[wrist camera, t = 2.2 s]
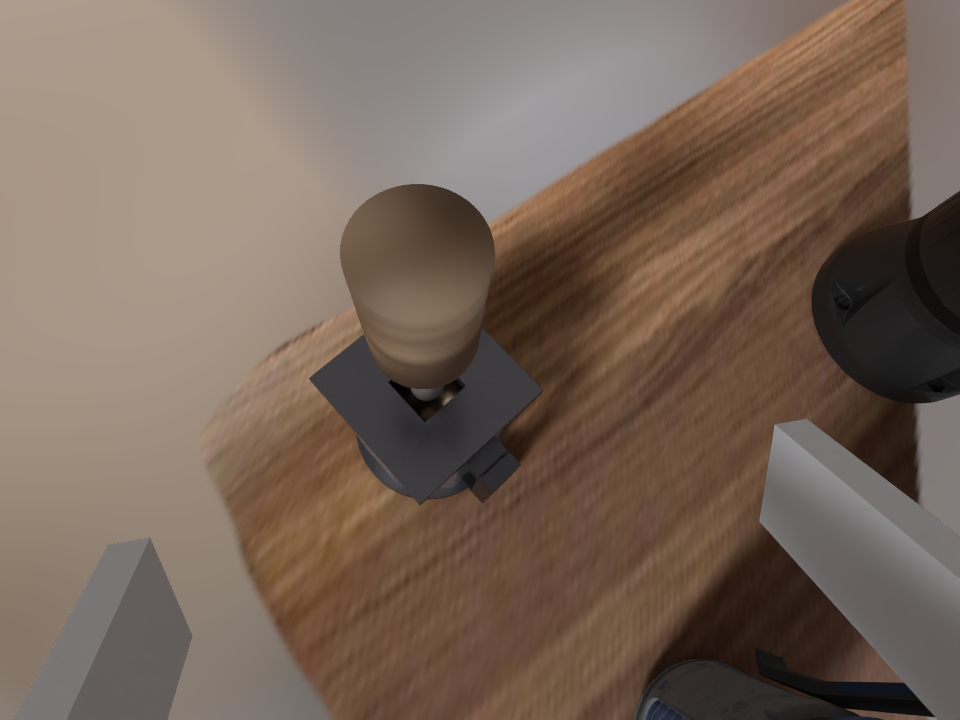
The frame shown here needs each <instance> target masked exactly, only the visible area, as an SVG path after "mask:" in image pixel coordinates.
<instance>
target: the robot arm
mask: <svg viewBox="0 0 960 720" xmlns="http://www.w3.org/2000/svg"><path fill="white" fill-rule="evenodd" d="M812 312H813V318H814V322H815V325H816V329H817V331H818V334H819V336H820V338H821V340H822V342H823V344H824V346H825V348H826V349H827V351H828V352H829V354H830V355H831V357H832V358H833V359H834V360H835V362H836V363H837V364H838V365H839V366H840V367H841V368H842V369H843V370H844V371H845V372H846V373H847V374H848V375H849V376H850V377H851V378H853V379H854V380H855V381H857V382H858V383H859V384H861V385H862V386H864V387H865V388H867V389H869V390H871V391H873V392H875V393H877V394H879V395H881V396H884V397H887V398H889V399H893V400H896V401H901V402H907V403H931V402H936V401H939V400H943V399H946V398H949V397H953V396H956V395H959V394H960V191H959V192H957V193H956V194H954V195H953V196H952V197H950V198H949V199H947V200H946V201H944V202H943V203H941V204H940V205H938V206H937V207H936V208H935V209H933V210H932V211H930V212H929V213H927V214H926V215H924V216H923V217H920V218H917V219H914V220H910V221H907V222H903V223H900V224H896V225H893V226H890V227H886V228H883V229H879V230H876V231H872V232H869V233H866V234H864V235H862V236H860V237H858V238H856V239H854V240H852V241H851V242H849V243H848V244H847V245H845V246H844V247H843V248H841V249H840V250H839V251H837V252H836V253H835V254H833V255H832V256H831V257H830V258H829V259H828V260H827V261H826V262H825V263H824V265H823V266H822V268H821V269H820V271H819V273H818V275H817V277H816V280H815V283H814V286H813V292H812ZM759 522H760V523H761V524H762V525H763V526H764V527H765V528H766V529H767V530H768V532H769V533H770V534H771V535H772V536H773V537H774V538H775V539H776V540H777V542H778V543H779V544H780V545H781V546H782V547H783V548H784V549H785V550H786V552H787V553H788V554H789V555H790V556H791V557H792V558H793V559H794V560H795V562H796V563H797V564H798V565H799V566H800V567H801V568H802V569H803V570H804V572H805V573H806V574H807V575H808V576H809V577H810V578H811V579H812V580H813V582H814V583H815V584H816V585H817V586H818V587H819V588H820V589H821V590H822V592H823V593H824V594H825V595H826V596H827V597H828V598H829V599H830V600H831V602H832V603H833V604H834V605H835V606H836V607H837V608H838V609H839V610H840V612H841V613H842V614H843V615H844V616H845V617H846V618H847V619H848V620H849V622H850V623H851V624H852V625H853V626H854V627H855V628H856V629H857V630H858V632H859V633H860V634H861V635H862V636H863V637H864V638H865V639H866V640H867V642H868V643H869V644H870V645H871V646H872V647H873V648H874V649H875V651H876V652H877V653H878V654H879V655H880V656H881V657H882V658H883V659H884V661H885V662H886V663H887V664H888V665H889V666H890V667H891V668H892V669H893V671H894V672H895V673H896V674H897V675H898V676H899V677H900V678H901V679H902V681H903V682H904V683H905V684H906V685H907V686H908V687H909V688H910V689H911V691H912V692H913V693H914V694H915V695H916V696H917V697H918V698H919V699H920V701H921V702H922V703H923V704H924V705H925V706H926V707H927V708H928V709H929V711H930V712H931V713H932V714H933V715H934V716H935V717H936V718H937V719H938V720H960V536H959V535H958V534H957V533H955V532H954V531H952V530H951V529H950V528H949V527H947V526H946V525H945V524H944V523H942V522H941V521H940V520H938V519H937V518H936V517H934V516H933V515H932V514H930V513H929V512H928V511H927V510H925V509H924V508H923V507H921V506H920V505H919V504H917V503H916V502H915V501H913V500H912V499H911V498H909V497H908V496H907V495H906V494H904V493H903V492H902V491H900V490H899V489H898V488H896V487H895V486H894V485H892V484H891V483H890V482H889V481H887V480H886V479H885V478H883V477H882V476H881V475H879V474H878V473H877V472H875V471H874V470H873V469H872V468H870V467H869V466H868V465H866V464H865V463H864V462H862V461H861V460H860V459H858V458H857V457H856V456H855V455H853V454H852V453H851V452H849V451H848V450H847V449H845V448H844V447H843V446H841V445H840V444H839V443H838V442H836V441H835V440H834V439H832V438H831V437H830V436H828V435H827V434H826V433H824V432H823V431H822V430H821V429H819V428H818V427H817V426H815V425H814V424H813V423H811V422H810V421H809V420H807V419H803V420H797V421H792V422H786V423H781V424H775V427H774V433H773V439H772V446H771V452H770V458H769V464H768V471H767V477H766V483H765V489H764V496H763V502H762V508H761V514H760V520H759ZM191 638H192V634H191V632H190V629H189V627H188V625H187V622H186V620H185V618H184V615H183V613H182V611H181V608H180V606H179V604H178V601H177V599H176V597H175V595H174V592H173V590H172V587H171V585H170V583H169V581H168V578H167V576H166V574H165V571H164V569H163V567H162V564H161V562H160V560H159V558H158V555H157V553H156V550H155V548H154V546H153V543H152V541H151V539H150V538H145V539H139V540H134V541H128V542H123V543H117V544H112V545H108V546H107V548H106V550H105V552H104V554H103V555H102V557H101V559H100V561H99V563H98V565H97V567H96V569H95V570H94V572H93V574H92V576H91V578H90V580H89V581H88V583H87V585H86V587H85V589H84V590H83V593H82V594H81V596H80V598H79V600H78V602H77V604H76V605H75V607H74V609H73V611H72V613H71V614H70V616H69V618H68V620H67V622H66V624H65V626H64V628H63V629H62V631H61V633H60V635H59V637H58V639H57V641H56V642H55V644H54V646H53V648H52V650H51V652H50V654H49V655H48V657H47V659H46V661H45V663H44V664H43V666H42V668H41V670H40V672H39V674H38V676H37V677H36V680H35V681H34V683H33V685H32V687H31V689H30V690H29V692H28V694H27V696H26V698H25V700H24V701H23V703H22V705H21V707H20V709H19V711H18V712H17V714H16V716H15V718H14V720H167V718H168V715H169V712H170V708H171V705H172V702H173V698H174V695H175V692H176V689H177V685H178V682H179V679H180V675H181V672H182V669H183V665H184V662H185V659H186V655H187V652H188V649H189V645H190V642H191Z"/></svg>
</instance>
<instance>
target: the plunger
mask: <svg viewBox="0 0 960 720" xmlns="http://www.w3.org/2000/svg"><path fill="white" fill-rule="evenodd" d="M494 257H495V250H494V242H493V237H492V234H491V231H490V228H489V226H488V224H487V222H486V221H485V219H484V218H483V216H482V215H481V213H480V212H479V211H478V210H477V209H476V208H475V207H474V206H473V205H472V204H471V203H470V202H468V201H467V200H466V199H464V198H463V197H461V196H459V195H458V194H456V193H454V192H452V191H450V190H447V189H444V188H441V187H437V186H433V185H424V184H411V185H402V186H398V187H394V188H391V189H388V190H385V191H383V192H381V193H378V194H376V195H375V196H373V197H372V198H370V199H369V200H367V201H366V202H365V203H364V204H362V205H361V206H360V207H359V209H357V211H356V212H355V213H354V214H353V216H352V217H351V218H350V220H349V222H348V224H347V226H346V227H345V230H344V233H343V236H342V241H341V245H340V258H341V265H342V269H343V273H344V276H345V279H346V282H347V285H348V288H349V291H350V293H351V297H352V299H353V303H354V306H355V309H356V311H357V314H358V317H359V320H360V323H361V326H362V329H363V332H364V335H365V338H366V341H367V344H368V347H369V350H370V353H371V355H372V358H373V360H374V362H375V363H376V365H377V367H378V368H379V369H380V370H381V372H383V373H384V374H385V375H386V376H387V377H388V378H390V379H391V380H392V381H394V382H396V383H398V384H400V385H402V386H405V387H409V388H410V389H411V391H412V393H413V395H414V396H415V397H417V398H418V399H420V400H423V401H431V400H434V399H436V398H438V397H439V396H440V395H441V394H442V392H443V390H444V385H447V384H449V383H451V382H453V381H454V380H456V379H457V378H459V377H460V376H461V375H462V374H463V373H464V372H465V371H466V370H467V369H468V368H469V366H470V365H471V363H472V362H473V360H474V358H475V355H476V353H477V349H478V345H479V340H480V334H481V329H482V324H483V318H484V313H485V308H486V303H487V297H488V292H489V287H490V281H491V276H492V271H493V266H494Z"/></svg>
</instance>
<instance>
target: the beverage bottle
mask: <svg viewBox="0 0 960 720" xmlns="http://www.w3.org/2000/svg"><path fill="white" fill-rule="evenodd" d="M755 653H756V658H757V664H758V669H759V674H761V675H762V676H764V677H767V678H769V679H771V680H774V681H776V682H778V683H781V684H783V685H785V686H788V687H790V688H793V689H796V690H798V691H801V692H803V693H806V694H808V695H811V696H813V697H816V698H818V699H821V700H823V701H826V702H828V703H826V702H823V701H820V700H816V699H813V698H808V697H803V696H799V695H796V694H793V693H790V692H788V691H785V690H783V689H780V688H777V687H775V686H772V685H770V684H767V683H765V682H762V681H760V680H757V679H754V678H753V677H751V676H750V675H748V674H746V673H744V672H742V671H740V670H739V669H737V668H735V667H733V666H730V665H727V664H724V663H721V662H718V661H715V660H708V659H692V660H685V661H682V662H679V663H677V664H674V665H671V666H670V667H668V668H667V669H665V670H664V671H662V672H661V673H659V674H658V676H657V677H656V678H655V679H654V680H653V681H652V682H651V683H650V684H649V685H648V687H647V689H646V690H645V692H644V693H643V695H642V697H641V699H640V702H639V704H638V707H637V709H636V712H635V717H634V720H882V719H879V718H871V717H861V716H859V715H858V714H856V713H854V712H851V711H848V710H846V709H856V710H866V711H877V712H887V713H898V714H908V715H919V716H929V717H935V716H934V715H933V714H932V713H931V712H930V711H929V709H928V708H927V707H926V706H925V705H924V704H923V703H922V702H921V701H920V699H919V698H918V697H917V696H916V695H915V694H914V693H913V692H912V691H911V689H910V688H909V687H908V686H907V685H906V684H905V683H886V682H829V681H823V680H819V679H816V678H812V677H809V676H806V675H802V674H799V673H795V672H792V671H789V670H788V668H787V666H786V664H785V661H784V659H783V657H777V656H775V655H772V654H770V653H767V652H765V651H763V650H760V649H758V648H756V647H755ZM829 703H831V704H829ZM832 704H833V705H832ZM835 705H836V706H835ZM840 707H841V708H840ZM843 708H845V709H843Z"/></svg>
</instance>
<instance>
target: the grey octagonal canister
mask: <svg viewBox="0 0 960 720" xmlns="http://www.w3.org/2000/svg"><path fill="white" fill-rule="evenodd" d="M309 379H310V381H311V382H312V383H313V384H314V386H315V387H316V388H317V389H318V390H319V391H320V392H321V394H322V395H323V396H324V397H325V398H326V399H327V400H328V401H329V403H330V404H331V405H332V406H333V407H334V408H335V409H336V411H337V412H338V413H339V414H340V415H341V416H342V417H343V418H344V420H345V421H346V422H347V423H348V424H349V425H350V426H351V428H352V429H353V430H354V431H355V433H356V434H357V441H358V445H359V449H360V451H361V454H362V456H363V458H364V460H365V462H366V464H367V466H368V467H369V468H370V470H371V471H372V472H373V474H374V475H375V476H376V477H377V478H378V479H379V480H380V481H381V482H382V483H384V484H385V485H386V486H388V487H389V488H390V489H392V490H394V491H396V492H398V493H400V494H403V495H405V496H408V497H412V498H414V499H415V500H416V501H417V503H418V504H419V505H421V504H422V503H423V502H425V501H426V500H427V499H439V498H445V497H449V496H452V495H455V494H457V493H459V492H462V491H464V490H465V489H467V488H469V489H470V490H471V491H472V492H473V494H474V495H475V496H476V497H477V498H478V499H479V500H480V501H481V502H482V503H484V502H485V501H486V500H487V499H488V498H489V497H490V496H491V495H492V494H493V493H494V492H495V491H496V490H497V489H498V488H499V487H500V486H501V485H502V484H503V483H504V482H505V481H506V480H507V479H508V478H509V477H510V476H511V475H512V474H513V473H514V472H515V471H516V470H517V468H518V467H519V466H520V465H521V464H520V463H519V462H518V461H517V459H516V458H515V457H514V456H513V455H512V454H511V453H510V452H509V451H508V450H507V449H506V448H505V447H504V446H503V445H502V443H501V442H500V441H501V436H502V429H504V428H505V427H506V426H507V425H508V424H509V423H510V422H511V421H512V420H513V419H514V418H515V417H516V416H518V415H519V414H520V413H521V412H522V411H523V410H524V409H525V408H526V407H527V406H528V405H529V404H531V403H532V402H533V401H534V400H535V399H536V398H537V397H538V396H539V395H540V394H541V393H542V391H543V389H542V388H541V387H540V386H539V385H538V384H537V383H536V382H535V381H534V380H533V379H532V378H531V377H530V376H529V375H528V374H527V373H526V372H525V371H524V370H523V369H522V368H521V367H520V366H519V365H518V364H517V363H516V362H515V361H514V360H513V359H512V358H511V357H510V356H509V355H508V353H507V352H506V351H505V350H504V349H503V348H502V347H501V346H500V345H499V344H498V343H497V342H496V341H495V340H494V339H493V338H492V337H491V336H490V335H489V334H488V333H487V332H486V331H485V330H484V329H483V328H482V329H481V334H480V340H479V345H478V349H477V353H476V355H475V358H474V360H473V362H472V363H471V365H470V366H469V368H468V369H467V370H466V371H465V372H464V373H463V374H462V375H461V376H460V377H459V378H457V379H456V380H454V381H453V382H451V383H449V384H447V385H444V390H443V392H442V394H441V395H440V396H439V397H438V398H436V399H434V400H431V401H423V400H420V399H418V398H417V397H415V396H414V395H413V393H412V391H411V389H410V388H409V387H405V386H402V385H400V384H398V383H396V382H394V381H392V380H391V379H390V378H388V377H387V376H386V375H385V374H384V373H383V372H381V370H380V369H379V368H378V367H377V365H376V363H375V362H374V360H373V358H372V355H371V353H370V350H369V347H368V344H367V341H366V338H365V335H362V336H361V337H360V338H359V339H357V340H356V341H355V342H354V343H352V344H351V345H350V346H349V347H347V348H346V349H345V350H344V351H342V352H341V353H340V354H339V355H337V356H336V357H335V358H334V359H332V360H331V361H330V362H329V363H327V364H326V365H325V366H324V367H322V368H321V369H320V370H319V371H317V372H316V373H315V374H314V375H312V376H311V377H310V378H309Z"/></svg>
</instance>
